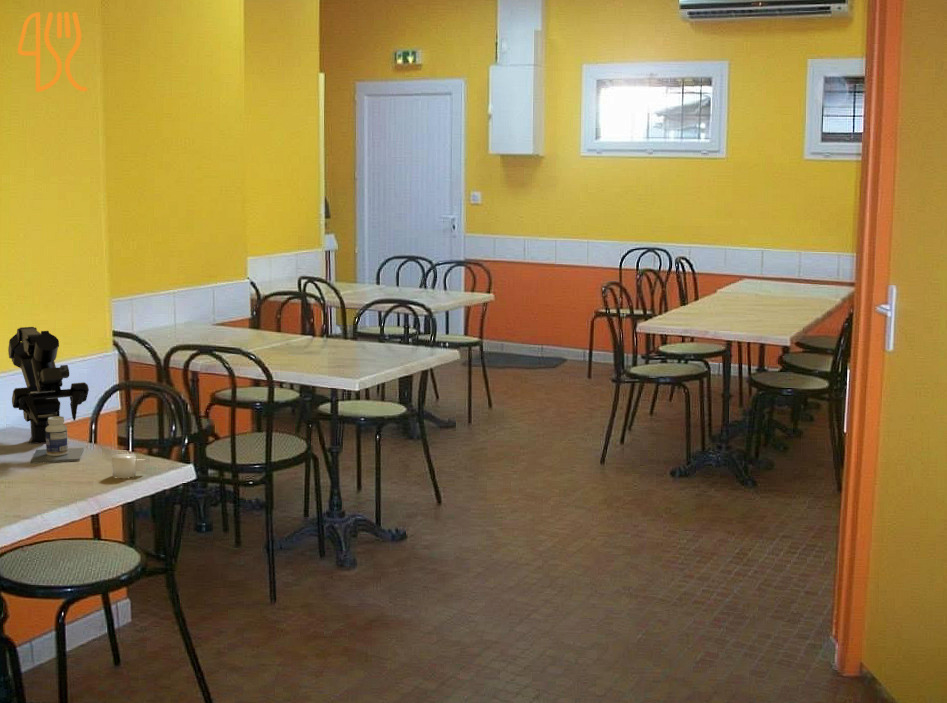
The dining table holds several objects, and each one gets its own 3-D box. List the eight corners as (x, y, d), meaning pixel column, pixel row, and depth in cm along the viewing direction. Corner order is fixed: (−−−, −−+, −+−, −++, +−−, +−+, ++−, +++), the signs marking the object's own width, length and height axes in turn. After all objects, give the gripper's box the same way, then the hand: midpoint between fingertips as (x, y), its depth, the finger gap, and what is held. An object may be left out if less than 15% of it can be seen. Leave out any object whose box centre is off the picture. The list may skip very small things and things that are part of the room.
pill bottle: (47, 452, 311) (45, 416, 309) (68, 451, 312) (67, 415, 311) (46, 457, 306) (44, 420, 304) (67, 455, 307) (66, 419, 306)
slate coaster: (36, 451, 313) (36, 449, 313) (83, 449, 316) (83, 447, 316) (30, 463, 302) (30, 461, 302) (79, 460, 305) (79, 458, 305)
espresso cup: (113, 473, 293) (112, 454, 292) (145, 472, 295) (145, 452, 294) (111, 479, 288) (111, 459, 287) (144, 477, 290) (144, 458, 289)
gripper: (11, 358, 304) (22, 407, 296) (85, 352, 314) (97, 400, 306) (7, 382, 312) (17, 431, 304) (79, 376, 321) (91, 424, 314)
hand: (56, 421), depth 307 cm, fingers open, 9 cm apart
